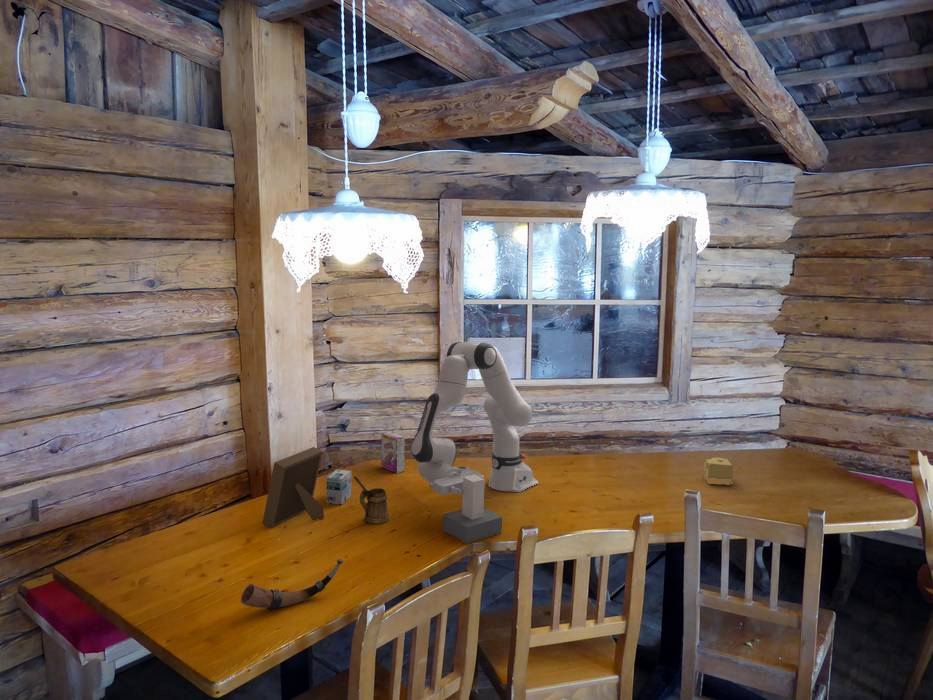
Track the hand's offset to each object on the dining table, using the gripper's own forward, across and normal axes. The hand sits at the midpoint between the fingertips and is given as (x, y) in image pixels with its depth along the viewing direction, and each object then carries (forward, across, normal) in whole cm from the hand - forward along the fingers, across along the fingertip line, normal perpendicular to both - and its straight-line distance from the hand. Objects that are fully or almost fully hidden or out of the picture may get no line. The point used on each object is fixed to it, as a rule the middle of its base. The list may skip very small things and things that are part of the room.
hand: (472, 489), depth 250 cm
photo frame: (-43, -47, +16) cm, 66 cm away
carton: (+1, 0, +10) cm, 10 cm away
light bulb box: (-53, -25, +16) cm, 61 cm away
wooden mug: (-28, -25, +16) cm, 41 cm away
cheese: (+21, +124, +16) cm, 127 cm away
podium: (+1, 0, +16) cm, 16 cm away
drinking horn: (+11, -73, +16) cm, 76 cm away
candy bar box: (-72, +12, +16) cm, 75 cm away
